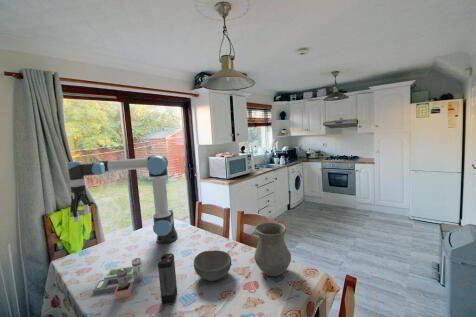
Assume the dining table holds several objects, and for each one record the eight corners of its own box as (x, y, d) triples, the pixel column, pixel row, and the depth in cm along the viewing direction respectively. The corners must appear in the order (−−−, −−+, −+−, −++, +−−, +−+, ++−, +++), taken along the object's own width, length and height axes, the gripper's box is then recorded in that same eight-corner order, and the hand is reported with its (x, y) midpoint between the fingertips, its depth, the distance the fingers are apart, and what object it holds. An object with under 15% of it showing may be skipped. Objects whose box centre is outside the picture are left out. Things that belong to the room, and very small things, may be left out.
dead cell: (130, 289, 113) (127, 265, 112) (128, 295, 109) (125, 270, 107) (120, 291, 112) (118, 267, 111) (118, 297, 108) (115, 272, 107)
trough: (135, 270, 131) (135, 265, 131) (132, 278, 123) (131, 273, 123) (110, 274, 128) (109, 269, 128) (104, 283, 120) (104, 277, 120)
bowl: (202, 294, 108) (200, 274, 107) (190, 272, 126) (189, 255, 125) (238, 279, 117) (237, 261, 116) (223, 261, 135) (222, 245, 134)
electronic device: (165, 291, 111) (162, 253, 109) (177, 290, 111) (174, 252, 109) (160, 306, 101) (156, 264, 99) (174, 304, 102) (170, 263, 100)
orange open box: (133, 288, 114) (132, 281, 114) (129, 297, 108) (128, 290, 108) (119, 291, 113) (118, 283, 113) (115, 300, 107) (114, 292, 106)
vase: (260, 286, 111) (257, 238, 108) (251, 264, 129) (249, 223, 127) (297, 280, 114) (296, 233, 111) (284, 260, 132) (282, 219, 130)
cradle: (124, 280, 122) (124, 276, 121) (119, 291, 113) (119, 286, 113) (100, 284, 119) (99, 280, 119) (93, 295, 111) (92, 290, 111)
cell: (143, 277, 123) (141, 255, 122) (142, 283, 119) (139, 260, 117) (135, 279, 122) (132, 257, 121) (133, 284, 118) (130, 261, 116)
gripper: (80, 182, 153) (84, 212, 155) (59, 190, 129) (64, 226, 131) (92, 181, 154) (96, 210, 157) (74, 189, 130) (79, 224, 132)
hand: (82, 217), depth 144 cm, fingers open, 13 cm apart
